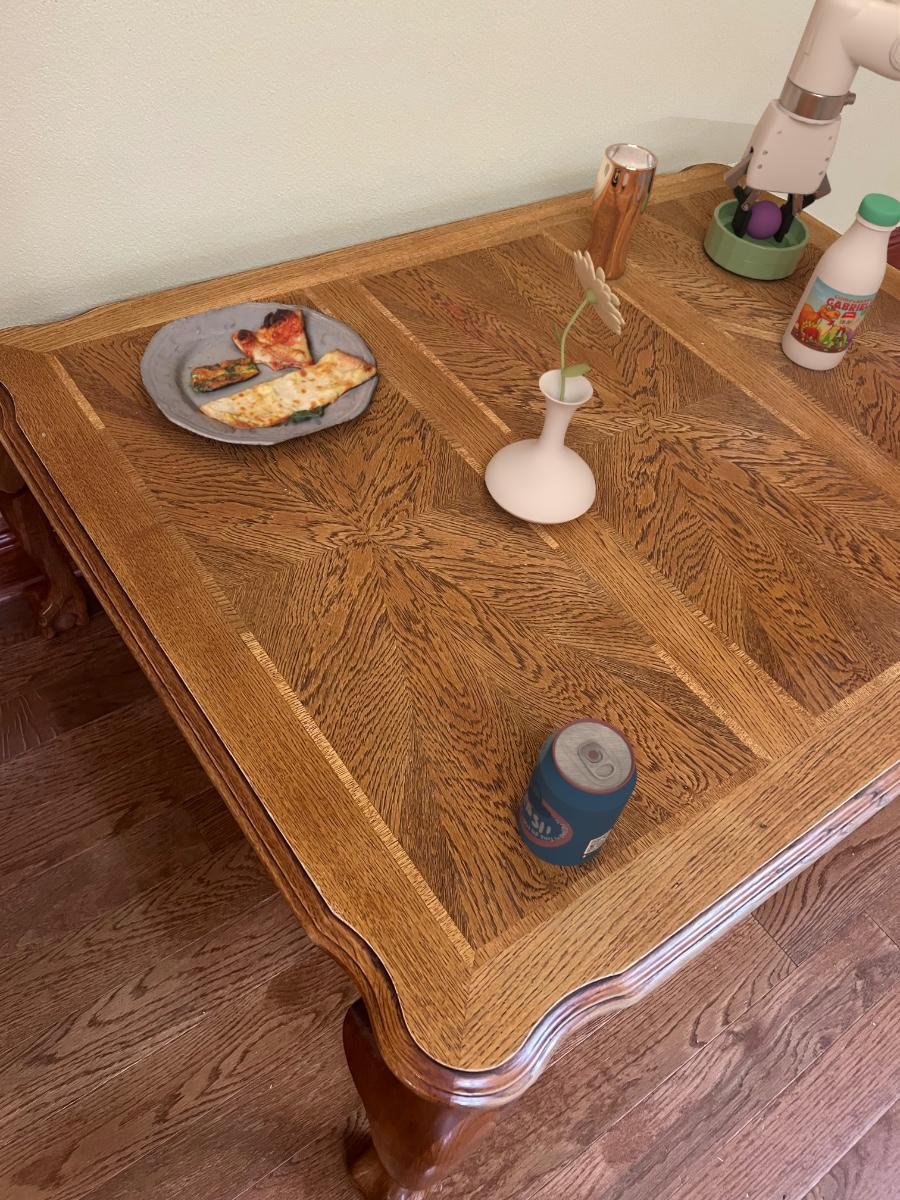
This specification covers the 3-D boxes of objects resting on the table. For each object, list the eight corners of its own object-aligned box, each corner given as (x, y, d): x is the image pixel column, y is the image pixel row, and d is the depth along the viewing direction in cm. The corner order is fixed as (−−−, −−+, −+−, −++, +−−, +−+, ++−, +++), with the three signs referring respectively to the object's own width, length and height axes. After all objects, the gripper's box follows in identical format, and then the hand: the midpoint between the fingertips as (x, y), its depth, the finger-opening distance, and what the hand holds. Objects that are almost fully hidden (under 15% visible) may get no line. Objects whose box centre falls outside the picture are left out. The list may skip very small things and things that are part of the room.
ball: (768, 229, 131) (782, 194, 127) (777, 248, 128) (792, 214, 124) (734, 225, 131) (747, 191, 127) (742, 245, 128) (756, 210, 124)
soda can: (497, 814, 73) (524, 735, 64) (567, 776, 76) (603, 695, 67) (547, 889, 70) (584, 817, 61) (619, 847, 73) (665, 772, 63)
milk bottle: (767, 338, 119) (836, 186, 104) (817, 331, 122) (891, 182, 106) (801, 376, 115) (878, 223, 100) (852, 368, 117) (934, 218, 102)
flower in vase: (597, 538, 93) (672, 324, 74) (484, 530, 92) (530, 310, 73) (584, 450, 102) (649, 236, 82) (480, 441, 101) (521, 222, 81)
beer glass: (568, 254, 126) (594, 142, 115) (615, 251, 128) (645, 141, 117) (588, 283, 123) (617, 171, 111) (635, 280, 124) (669, 169, 113)
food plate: (312, 298, 113) (312, 272, 111) (417, 412, 102) (420, 386, 100) (110, 352, 103) (105, 325, 100) (203, 486, 92) (200, 459, 89)
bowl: (781, 235, 137) (795, 202, 133) (806, 287, 128) (821, 254, 124) (694, 227, 135) (705, 194, 131) (713, 279, 127) (726, 245, 123)
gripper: (867, 92, 119) (807, 227, 133) (738, 77, 117) (691, 215, 131) (886, 120, 114) (822, 256, 128) (752, 104, 112) (702, 244, 126)
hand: (756, 234), depth 129 cm, fingers closed on ball, 4 cm apart
